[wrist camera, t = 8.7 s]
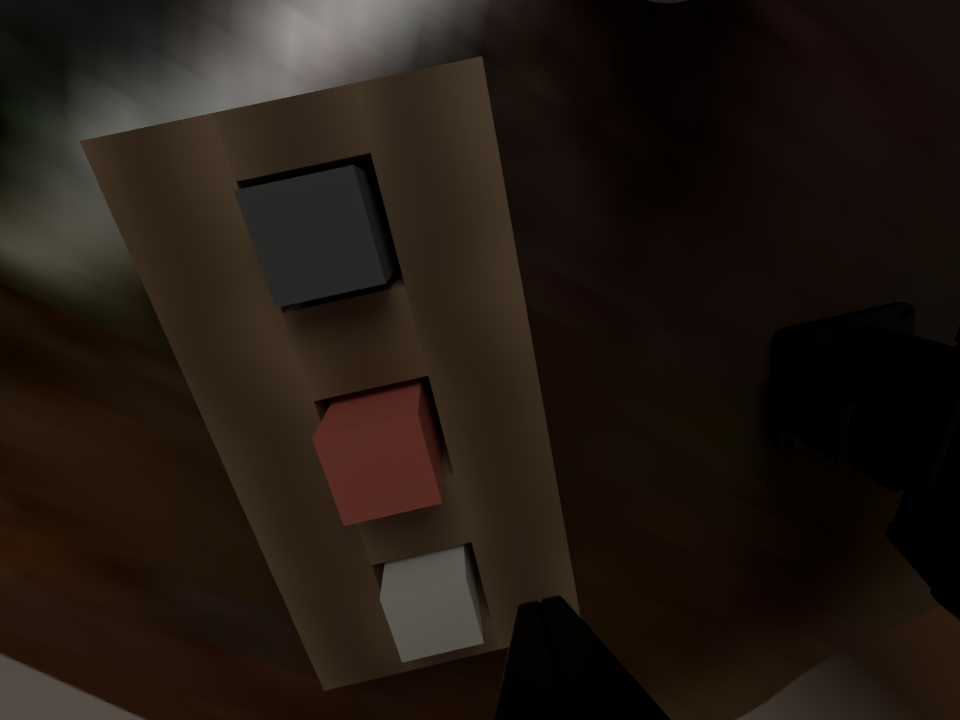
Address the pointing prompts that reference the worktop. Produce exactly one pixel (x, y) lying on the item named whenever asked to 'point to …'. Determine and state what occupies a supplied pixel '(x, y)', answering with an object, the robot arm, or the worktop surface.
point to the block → (355, 345)
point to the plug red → (381, 451)
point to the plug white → (432, 602)
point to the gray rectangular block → (319, 234)
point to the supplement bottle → (666, 1)
